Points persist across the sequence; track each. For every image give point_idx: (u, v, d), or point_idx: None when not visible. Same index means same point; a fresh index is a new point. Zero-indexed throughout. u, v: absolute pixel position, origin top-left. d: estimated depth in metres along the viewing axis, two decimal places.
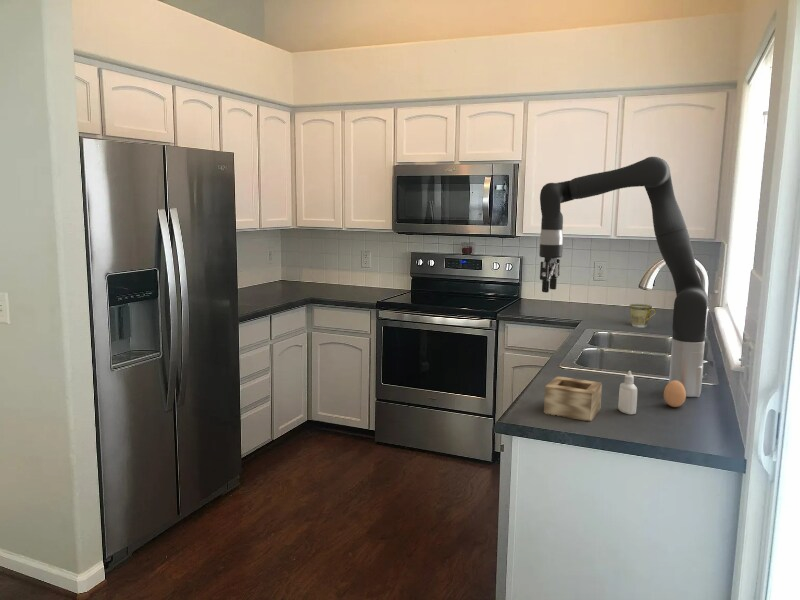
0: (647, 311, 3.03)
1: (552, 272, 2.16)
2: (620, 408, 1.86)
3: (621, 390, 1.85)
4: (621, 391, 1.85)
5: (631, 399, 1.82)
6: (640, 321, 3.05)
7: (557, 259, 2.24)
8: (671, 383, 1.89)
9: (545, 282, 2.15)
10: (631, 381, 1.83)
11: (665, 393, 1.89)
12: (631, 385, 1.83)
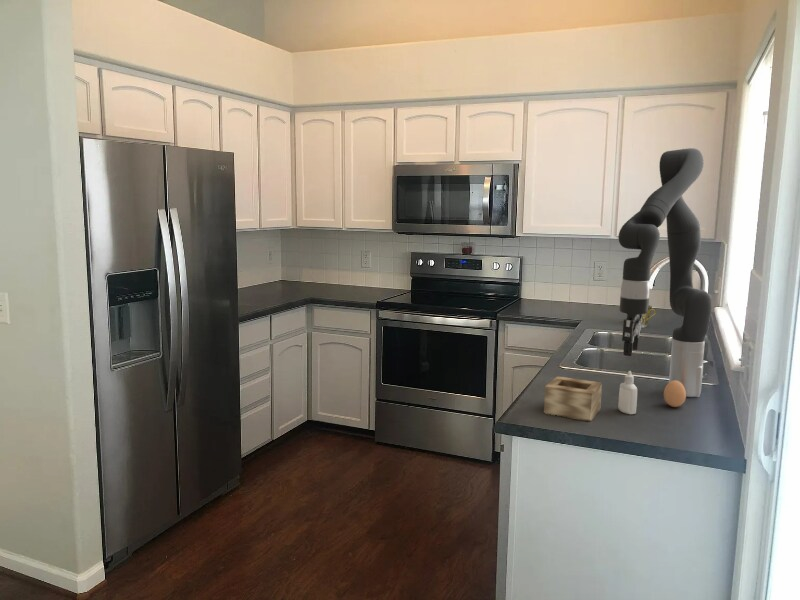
0: None
1: (636, 331, 1.79)
2: (620, 408, 1.86)
3: (621, 390, 1.85)
4: (621, 391, 1.85)
5: (631, 399, 1.82)
6: None
7: None
8: (671, 383, 1.89)
9: (628, 344, 1.78)
10: (631, 381, 1.83)
11: (665, 393, 1.89)
12: (631, 385, 1.83)
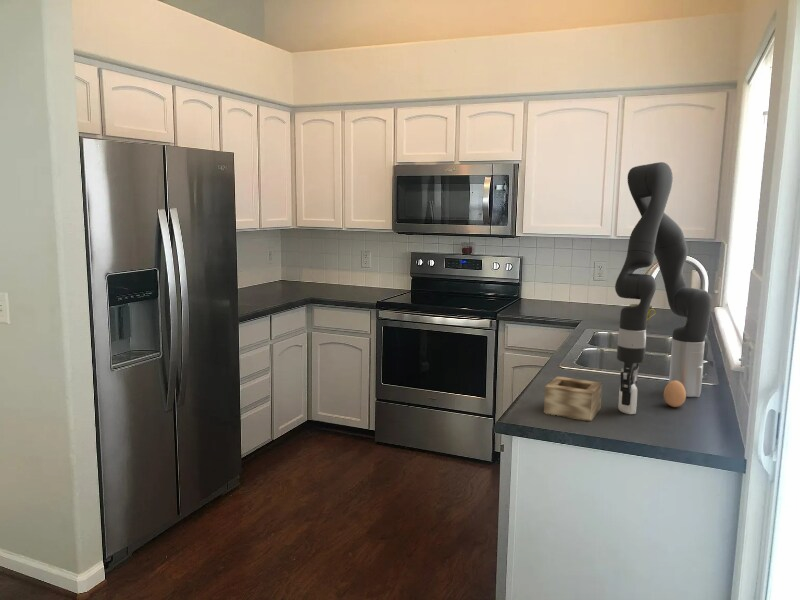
0: None
1: (634, 380, 1.82)
2: (620, 408, 1.86)
3: None
4: (621, 391, 1.85)
5: (631, 399, 1.82)
6: None
7: (636, 363, 1.88)
8: (671, 383, 1.89)
9: (626, 394, 1.81)
10: None
11: (665, 393, 1.89)
12: None
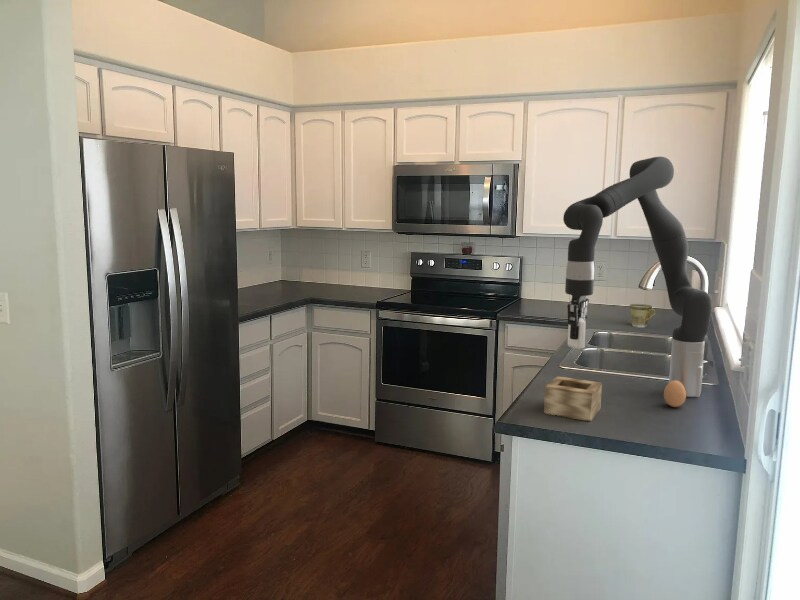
0: (647, 311, 3.03)
1: (582, 314, 1.78)
2: (569, 343, 1.83)
3: None
4: None
5: (579, 333, 1.79)
6: (640, 321, 3.05)
7: None
8: (671, 383, 1.89)
9: (574, 327, 1.78)
10: None
11: (665, 393, 1.89)
12: None
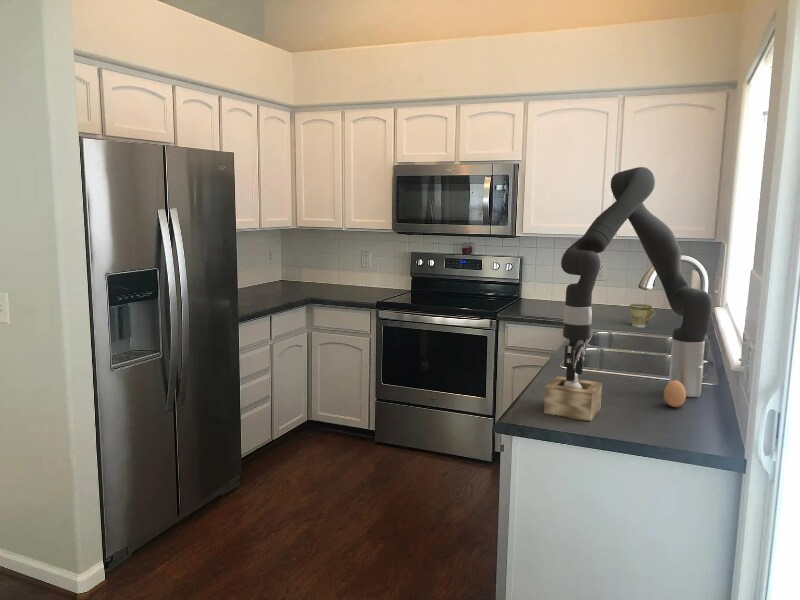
0: (647, 311, 3.03)
1: (579, 357, 1.80)
2: None
3: None
4: None
5: None
6: (640, 321, 3.05)
7: None
8: (671, 383, 1.89)
9: (570, 369, 1.79)
10: (575, 379, 1.82)
11: (665, 393, 1.89)
12: (576, 383, 1.82)
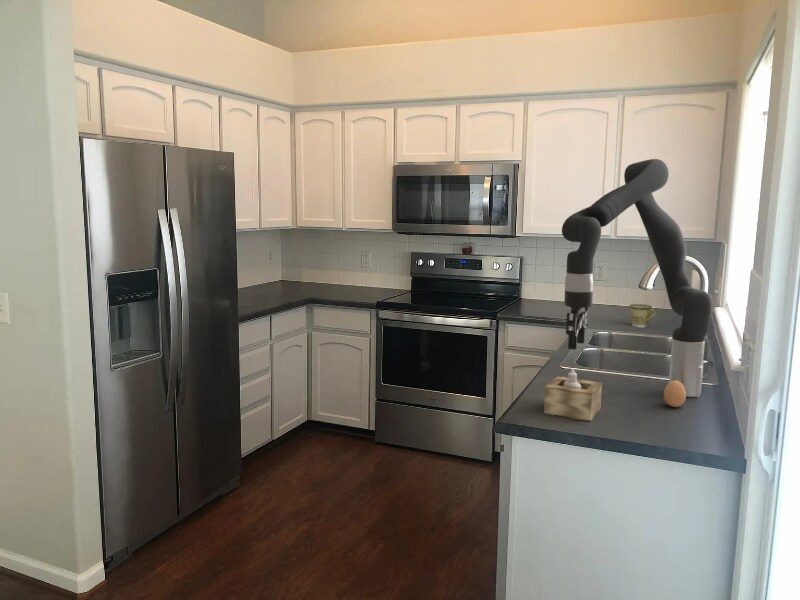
0: (647, 311, 3.03)
1: (580, 325, 1.78)
2: None
3: None
4: None
5: None
6: (640, 321, 3.05)
7: None
8: (671, 383, 1.89)
9: (572, 337, 1.77)
10: (575, 379, 1.83)
11: (665, 393, 1.89)
12: (575, 383, 1.82)
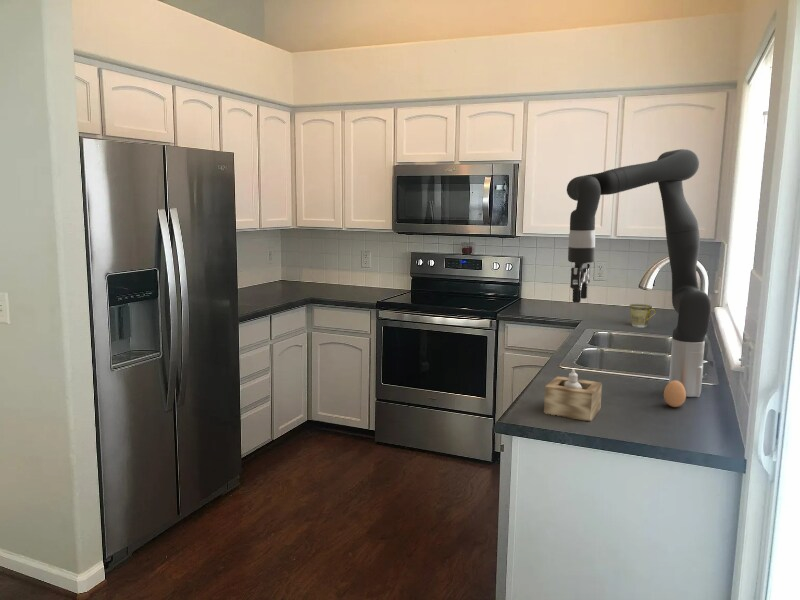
0: (647, 311, 3.03)
1: (584, 279, 1.88)
2: None
3: None
4: None
5: None
6: (640, 321, 3.05)
7: (587, 264, 1.95)
8: (671, 383, 1.89)
9: (576, 291, 1.87)
10: (575, 379, 1.82)
11: (665, 393, 1.89)
12: (575, 383, 1.82)
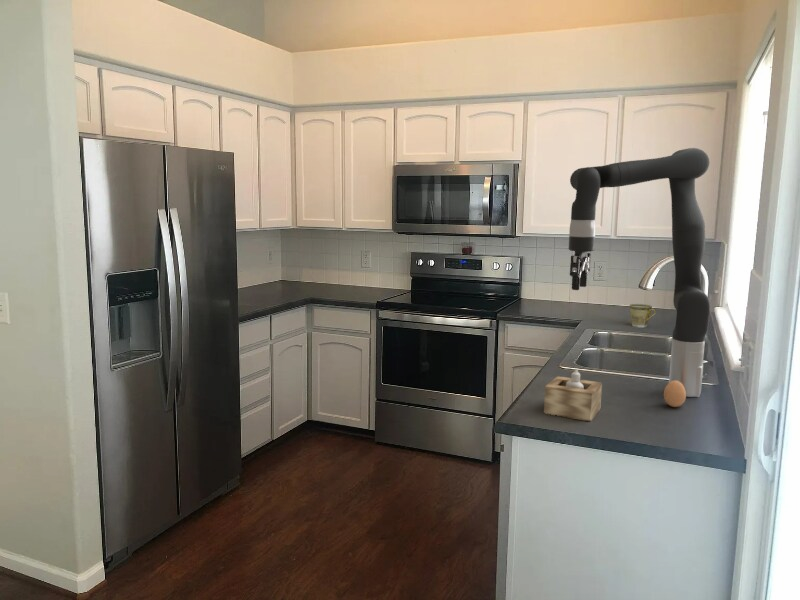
0: (647, 311, 3.03)
1: (583, 267, 1.93)
2: None
3: None
4: None
5: None
6: (640, 321, 3.05)
7: (588, 253, 2.01)
8: (671, 383, 1.89)
9: (575, 279, 1.93)
10: (578, 379, 1.83)
11: (665, 393, 1.89)
12: (578, 383, 1.83)
